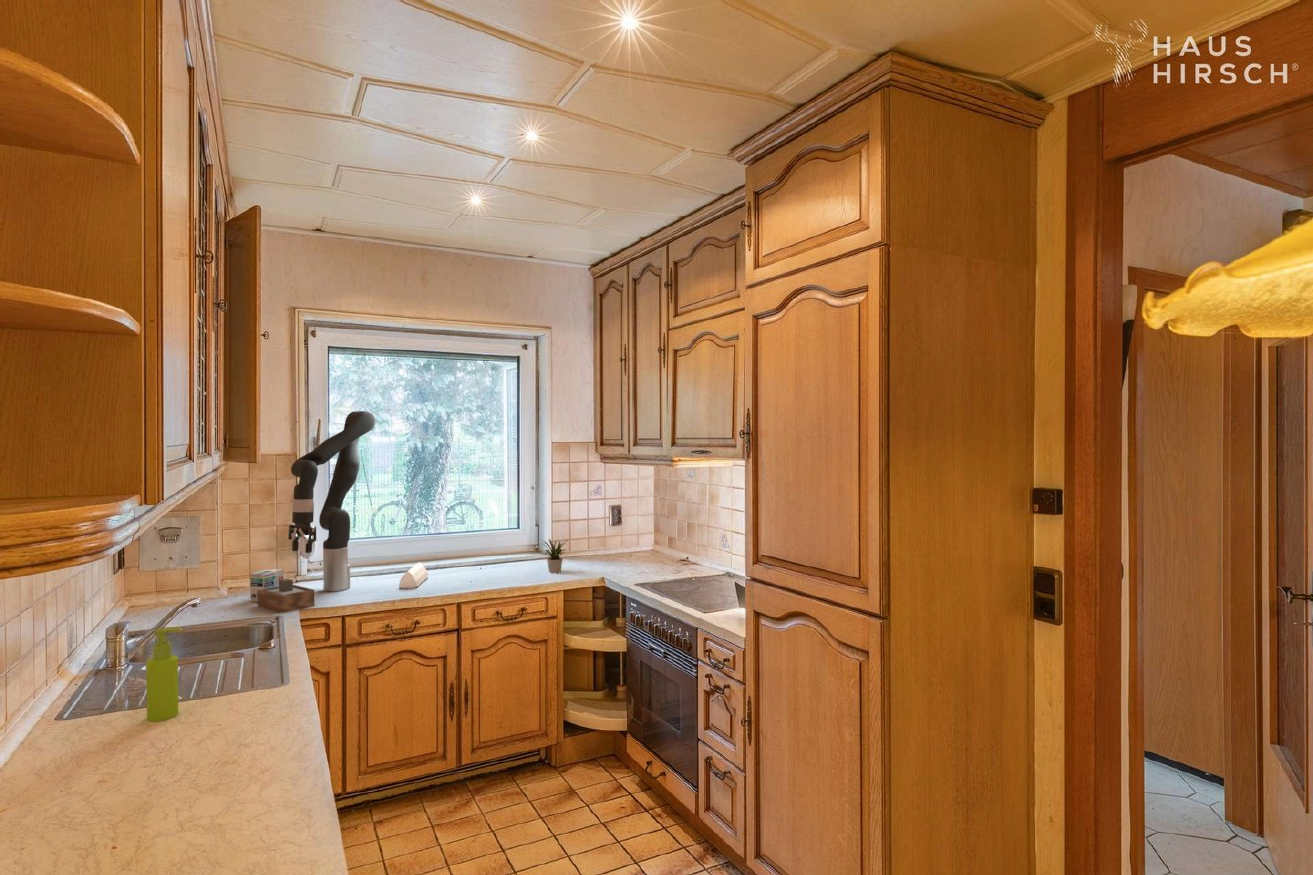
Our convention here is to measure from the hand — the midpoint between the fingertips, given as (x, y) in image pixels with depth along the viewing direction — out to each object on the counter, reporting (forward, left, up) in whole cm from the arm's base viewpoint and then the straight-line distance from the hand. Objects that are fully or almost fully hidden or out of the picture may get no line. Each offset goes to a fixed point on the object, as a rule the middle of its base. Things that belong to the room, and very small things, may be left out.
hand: (301, 551), depth 277 cm
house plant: (-89, +49, -18) cm, 104 cm away
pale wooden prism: (-40, +15, -18) cm, 47 cm away
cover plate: (+12, +10, -13) cm, 20 cm away
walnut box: (+12, +10, -18) cm, 23 cm away
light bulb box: (+10, -8, -18) cm, 22 cm away
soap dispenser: (+79, +90, -18) cm, 121 cm away
